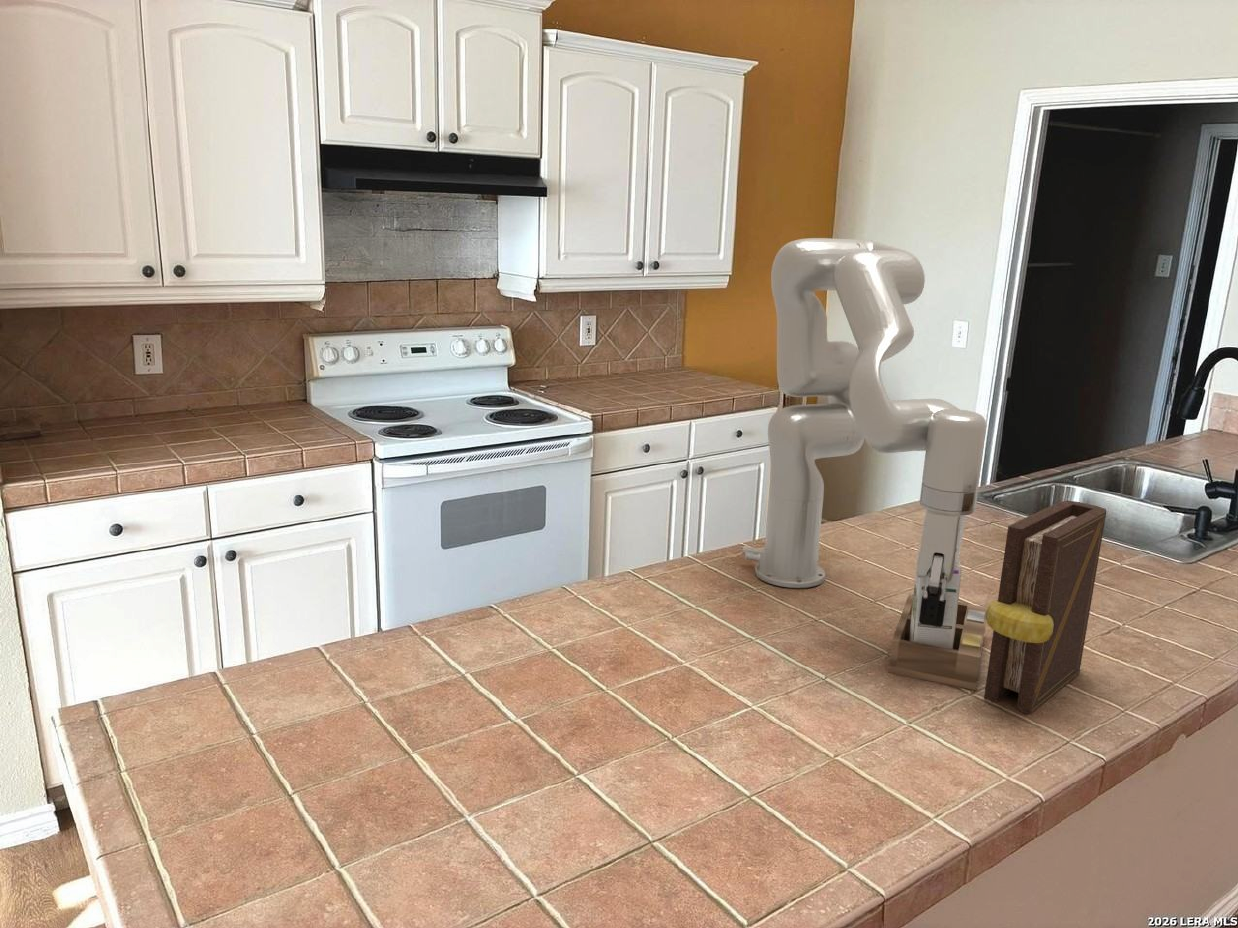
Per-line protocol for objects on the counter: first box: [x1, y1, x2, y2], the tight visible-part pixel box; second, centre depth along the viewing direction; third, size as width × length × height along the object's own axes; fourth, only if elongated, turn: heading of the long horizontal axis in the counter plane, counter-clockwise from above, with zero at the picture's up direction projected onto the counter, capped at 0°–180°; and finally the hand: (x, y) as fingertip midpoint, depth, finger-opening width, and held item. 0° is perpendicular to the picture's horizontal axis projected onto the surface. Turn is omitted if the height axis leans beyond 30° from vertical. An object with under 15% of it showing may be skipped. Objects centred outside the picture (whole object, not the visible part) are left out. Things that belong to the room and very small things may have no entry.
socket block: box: [888, 593, 989, 691], centre depth 143 cm, size 20×12×5 cm, turn 157°
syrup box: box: [909, 549, 963, 649], centre depth 138 cm, size 6×6×14 cm
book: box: [983, 500, 1107, 716], centre depth 131 cm, size 22×8×25 cm, turn 134°
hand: (933, 614), depth 138 cm, fingers closed on syrup box, 6 cm apart
